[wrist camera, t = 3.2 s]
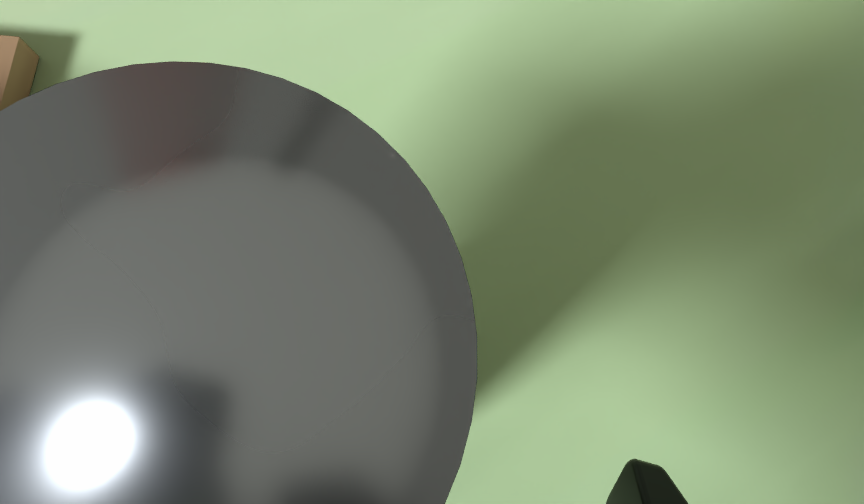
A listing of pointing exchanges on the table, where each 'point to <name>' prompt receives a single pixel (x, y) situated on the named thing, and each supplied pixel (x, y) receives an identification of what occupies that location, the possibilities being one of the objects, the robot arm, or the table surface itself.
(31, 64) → the socket board
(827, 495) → the table surface
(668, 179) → the table surface
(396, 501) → the metal pin
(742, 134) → the table surface
